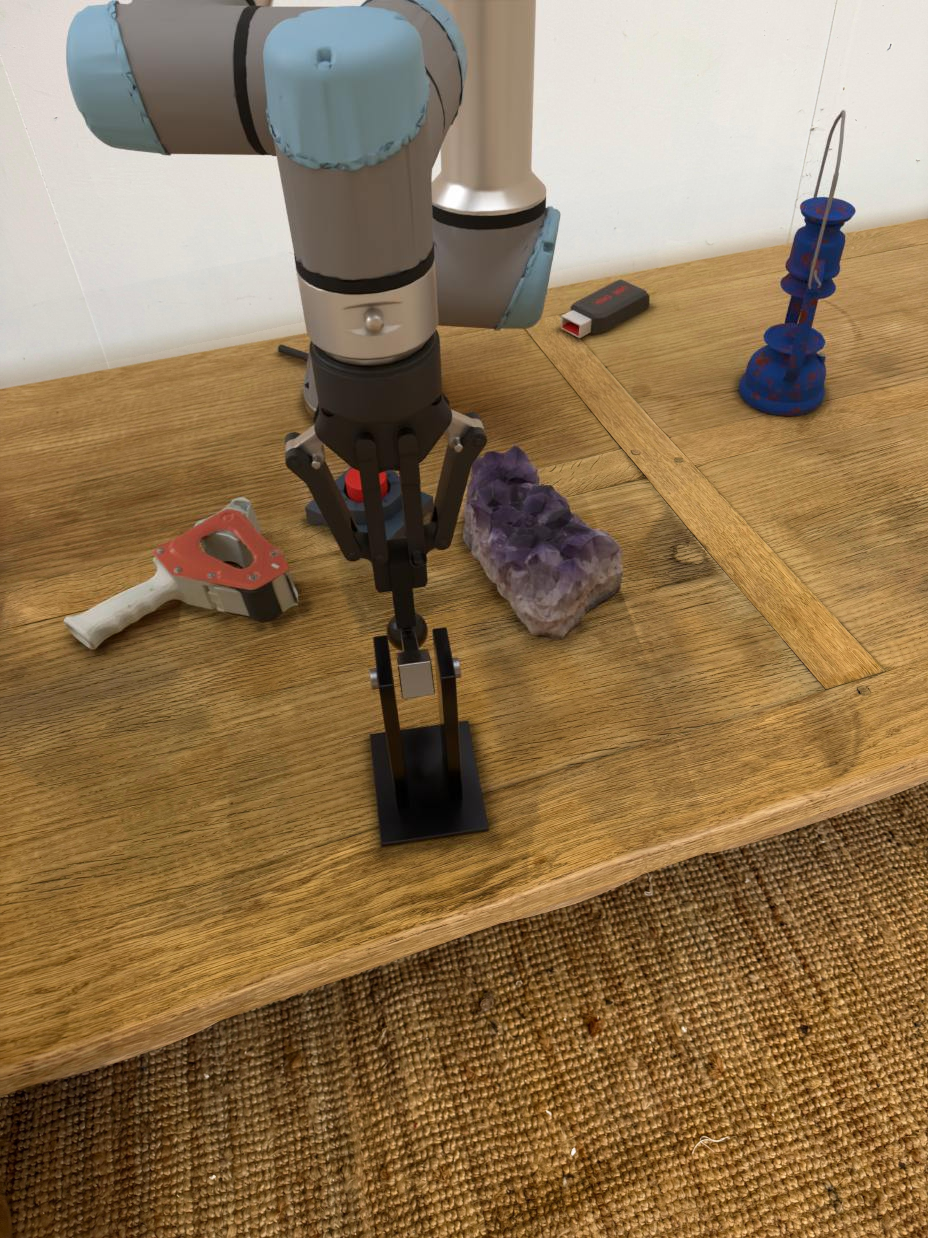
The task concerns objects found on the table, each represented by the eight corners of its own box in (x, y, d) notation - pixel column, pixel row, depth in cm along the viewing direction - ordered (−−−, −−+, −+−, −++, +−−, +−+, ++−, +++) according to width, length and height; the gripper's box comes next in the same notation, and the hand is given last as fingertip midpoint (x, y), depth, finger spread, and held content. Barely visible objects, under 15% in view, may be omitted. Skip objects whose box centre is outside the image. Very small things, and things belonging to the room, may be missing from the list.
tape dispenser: (69, 662, 85) (277, 678, 81) (43, 624, 81) (260, 640, 77) (143, 526, 96) (330, 535, 92) (124, 487, 92) (318, 494, 88)
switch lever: (388, 647, 74) (383, 608, 73) (428, 642, 74) (424, 603, 73) (395, 706, 61) (389, 660, 61) (443, 699, 62) (438, 654, 61)
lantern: (825, 423, 103) (913, 134, 81) (738, 415, 104) (801, 130, 82) (820, 370, 110) (900, 91, 88) (738, 363, 111) (796, 87, 89)
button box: (307, 523, 94) (301, 492, 91) (356, 480, 99) (352, 449, 96) (387, 559, 90) (383, 528, 87) (434, 512, 95) (432, 481, 92)
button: (338, 494, 92) (336, 480, 90) (363, 472, 94) (361, 458, 92) (371, 508, 90) (369, 494, 89) (396, 486, 92) (394, 471, 91)
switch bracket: (371, 742, 76) (347, 609, 64) (468, 728, 76) (462, 594, 65) (382, 852, 69) (358, 725, 58) (489, 836, 70) (486, 707, 58)
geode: (418, 532, 93) (421, 444, 86) (515, 504, 98) (526, 419, 91) (529, 659, 80) (544, 568, 74) (635, 620, 85) (658, 531, 78)
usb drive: (648, 307, 121) (651, 287, 119) (585, 342, 116) (586, 322, 114) (618, 293, 124) (620, 273, 121) (554, 327, 118) (555, 307, 116)
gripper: (259, 381, 50) (320, 663, 68) (497, 355, 51) (498, 640, 69) (258, 311, 55) (316, 590, 73) (476, 289, 57) (481, 569, 74)
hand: (404, 614), depth 71 cm, fingers closed
